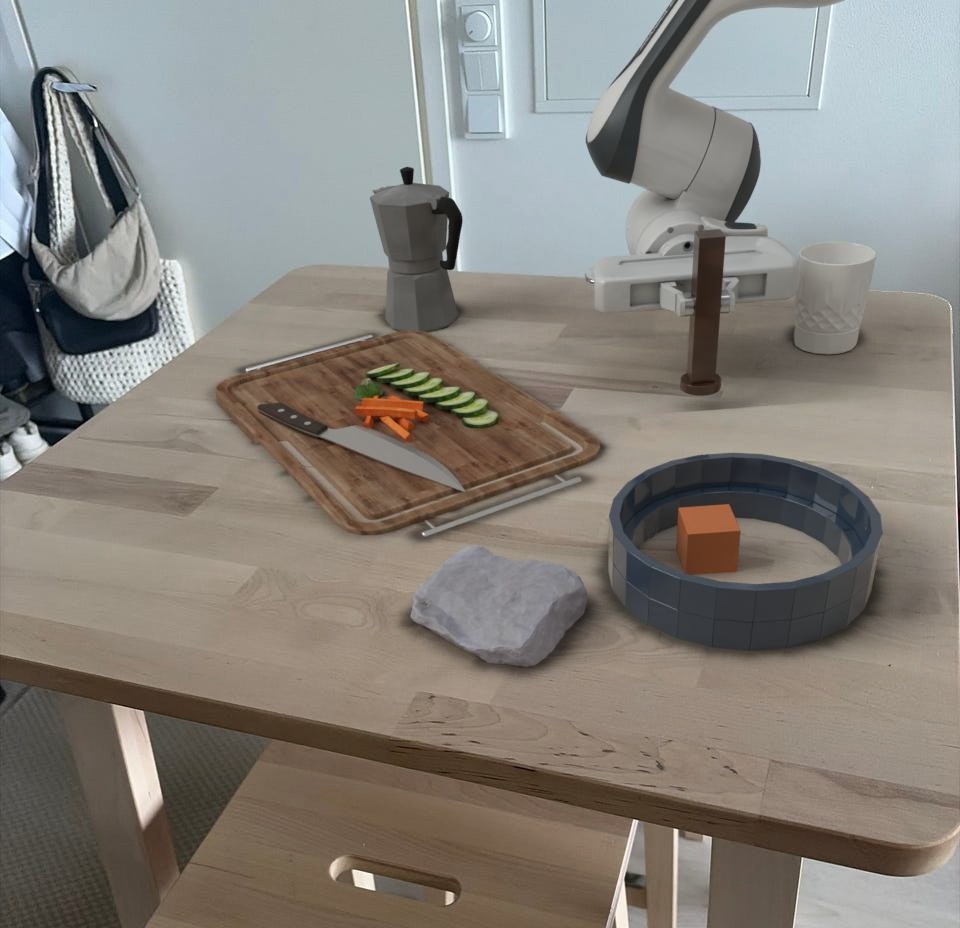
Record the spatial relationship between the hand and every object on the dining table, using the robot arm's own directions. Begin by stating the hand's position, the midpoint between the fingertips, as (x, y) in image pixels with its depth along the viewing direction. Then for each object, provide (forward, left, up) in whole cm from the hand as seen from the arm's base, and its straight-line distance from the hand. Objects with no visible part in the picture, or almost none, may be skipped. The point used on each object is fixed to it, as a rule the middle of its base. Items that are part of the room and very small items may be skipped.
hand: (707, 306), depth 97 cm
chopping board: (+31, -2, -11) cm, 33 cm away
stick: (0, -1, -9) cm, 9 cm away
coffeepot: (+28, -31, -11) cm, 43 cm away
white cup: (-17, -15, -11) cm, 25 cm away
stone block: (+22, +34, -11) cm, 42 cm away
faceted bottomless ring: (+3, +30, -11) cm, 32 cm away
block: (+5, +28, -10) cm, 30 cm away
